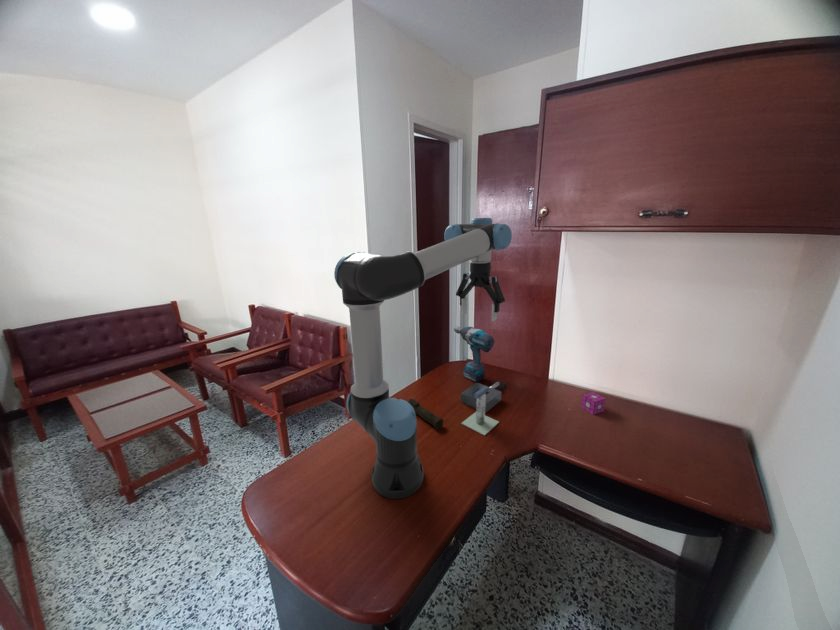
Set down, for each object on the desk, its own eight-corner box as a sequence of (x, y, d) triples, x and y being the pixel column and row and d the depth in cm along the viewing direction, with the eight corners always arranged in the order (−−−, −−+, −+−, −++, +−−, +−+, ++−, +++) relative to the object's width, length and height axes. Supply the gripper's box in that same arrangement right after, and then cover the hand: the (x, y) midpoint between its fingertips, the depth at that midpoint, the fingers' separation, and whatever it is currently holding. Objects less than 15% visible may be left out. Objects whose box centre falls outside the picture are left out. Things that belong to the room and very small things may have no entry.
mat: (484, 435, 108) (484, 434, 108) (461, 424, 115) (461, 423, 115) (499, 422, 115) (499, 421, 115) (476, 412, 122) (476, 411, 122)
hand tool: (444, 427, 114) (444, 416, 112) (435, 431, 111) (435, 420, 110) (414, 404, 128) (413, 394, 127) (406, 408, 126) (405, 398, 125)
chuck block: (485, 412, 121) (486, 404, 120) (460, 401, 129) (460, 393, 128) (510, 392, 135) (510, 384, 134) (486, 383, 143) (486, 375, 142)
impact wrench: (459, 366, 160) (460, 320, 153) (495, 382, 144) (498, 332, 136) (449, 371, 156) (449, 324, 148) (484, 388, 139) (486, 336, 132)
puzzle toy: (591, 404, 126) (593, 391, 124) (603, 411, 121) (605, 398, 119) (580, 407, 124) (582, 394, 122) (593, 415, 119) (595, 402, 117)
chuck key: (478, 428, 111) (480, 395, 107) (471, 424, 114) (472, 392, 110) (488, 419, 116) (490, 387, 112) (481, 416, 118) (483, 384, 114)
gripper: (516, 263, 108) (512, 320, 114) (459, 258, 124) (458, 309, 130) (506, 265, 102) (502, 325, 109) (447, 260, 119) (447, 313, 125)
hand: (478, 317), depth 119 cm, fingers open, 13 cm apart
